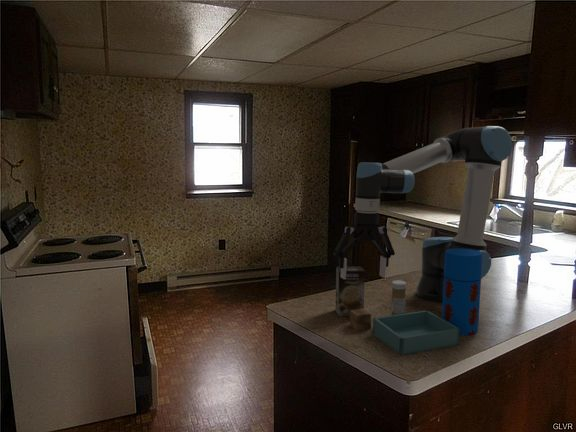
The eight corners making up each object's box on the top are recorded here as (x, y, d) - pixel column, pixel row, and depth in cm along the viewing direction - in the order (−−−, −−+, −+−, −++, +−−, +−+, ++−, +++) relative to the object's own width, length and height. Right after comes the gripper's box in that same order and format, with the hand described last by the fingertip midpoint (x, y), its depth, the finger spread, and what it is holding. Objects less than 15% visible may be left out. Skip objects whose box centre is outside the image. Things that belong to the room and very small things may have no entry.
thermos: (459, 338, 130) (463, 257, 126) (434, 325, 139) (437, 250, 136) (485, 331, 134) (490, 253, 130) (459, 319, 144) (463, 246, 140)
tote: (426, 324, 140) (427, 310, 139) (459, 345, 125) (460, 328, 124) (373, 333, 134) (373, 318, 133) (400, 355, 119) (401, 338, 118)
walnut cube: (363, 322, 142) (363, 308, 142) (370, 328, 138) (371, 313, 137) (349, 324, 141) (350, 310, 140) (356, 330, 136) (357, 315, 135)
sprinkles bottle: (394, 317, 147) (395, 279, 145) (407, 320, 144) (408, 281, 142) (388, 321, 143) (389, 282, 141) (402, 324, 140) (403, 284, 138)
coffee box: (337, 316, 148) (338, 271, 145) (335, 309, 154) (335, 266, 152) (364, 315, 148) (365, 270, 146) (360, 309, 154) (361, 265, 152)
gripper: (333, 213, 128) (330, 282, 131) (408, 213, 134) (403, 279, 137) (325, 210, 135) (322, 275, 138) (396, 210, 141) (392, 272, 144)
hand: (362, 277), depth 137 cm, fingers open, 13 cm apart
